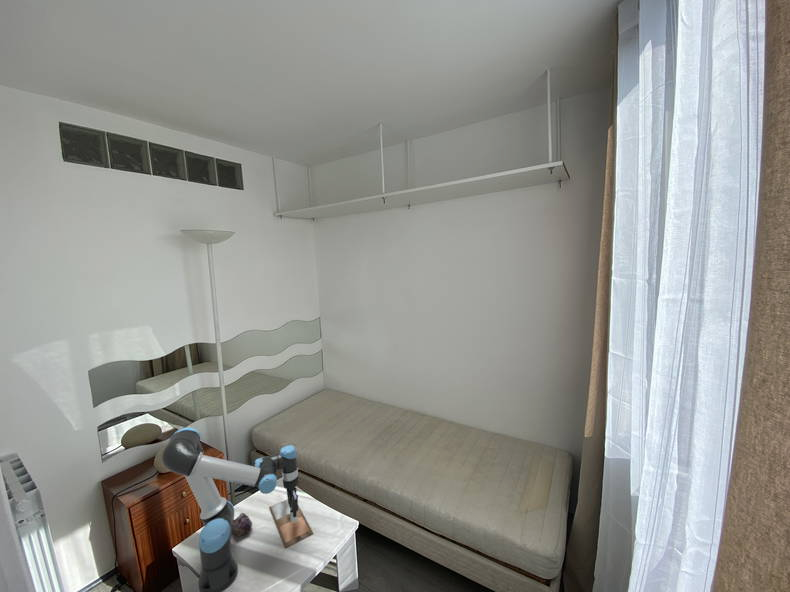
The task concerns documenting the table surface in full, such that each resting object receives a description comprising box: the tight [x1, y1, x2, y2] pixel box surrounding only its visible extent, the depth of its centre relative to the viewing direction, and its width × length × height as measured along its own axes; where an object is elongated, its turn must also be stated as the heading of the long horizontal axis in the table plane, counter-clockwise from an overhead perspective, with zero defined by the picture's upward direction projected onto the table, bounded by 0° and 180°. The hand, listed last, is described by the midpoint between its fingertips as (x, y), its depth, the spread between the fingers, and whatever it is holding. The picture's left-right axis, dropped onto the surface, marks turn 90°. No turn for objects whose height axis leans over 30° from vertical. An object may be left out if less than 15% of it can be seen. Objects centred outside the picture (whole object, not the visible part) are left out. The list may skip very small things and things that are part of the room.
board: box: [268, 498, 314, 549], centre depth 172 cm, size 14×33×1 cm, turn 34°
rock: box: [232, 512, 253, 537], centre depth 165 cm, size 12×8×10 cm
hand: (294, 520), depth 165 cm, fingers closed
